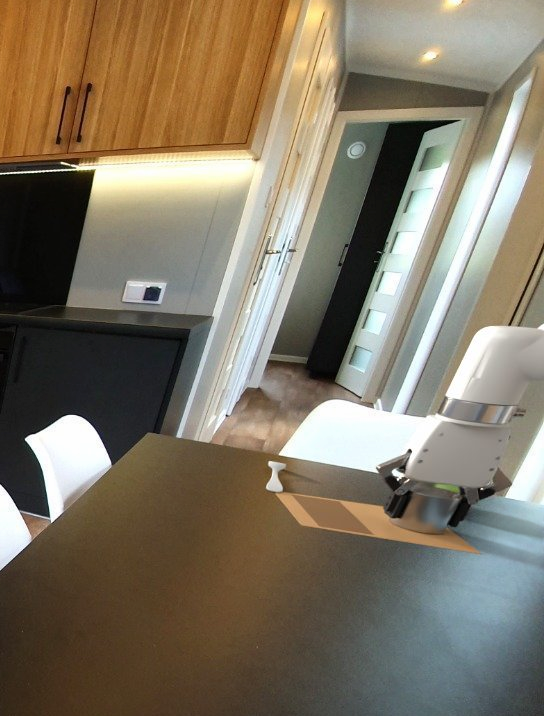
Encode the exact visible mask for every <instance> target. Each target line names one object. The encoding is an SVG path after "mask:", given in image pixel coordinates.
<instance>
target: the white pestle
mask: <svg viewBox="0 0 544 716" xmlns="http://www.w3.org/2000/svg"><path fill="white" fill-rule="evenodd" d="M267 466H268V467H270V468H271V470H272V472H271V478H270V479H269V481H268V482H267V484H266V487H265V489H266V490H267V491H269V492H271V493H275V492H276V493H279V492H284V491H283V490H284V487H283V485H282V483H281V481H280V479H279V472H280V471H282V470H285V469H286V467H287V463H283V462H277V461H271V460H269V461H268V464H267Z"/></svg>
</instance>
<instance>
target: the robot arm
mask: <svg viewBox="0 0 544 716" xmlns="http://www.w3.org/2000/svg"><path fill="white" fill-rule="evenodd" d="M532 381H534V382H535V381H536V382H542V383H544V323H543V324H541V325H540V326H539V327H537V328H535V327H526V326H515V325H514V326H513V325H491V326H490V325H489V326H485V327H483V328H481V329H479V330H478V331H477V332H476V333H475V334H474V336H473V338H472V339H471V341H470V344H469V346H468V348H467V350H466V351H465V353H464V356H463V358H462V359H461V362H460V365H459V366H458V368H457V370H456V372H455V374H454V377H453V379H452V381H451V383H450V385H449V387H448V389H447V391H446V393H445V395H444V397H443V399H442V401H441V404H440V405H439V408H438V409H437V411H436V413H435V414H428V415H427V416H426V417H425V418H424V419H423V420H422V422H421V423H420V424H419V426H418V427H417V428H416V430H415V431H414V433H413V434H412V436H410V438H409V440H408V442H407V443H406V445H405V447H404V448H403V450H402V452H401V454H400V455H399V456H397V457H393V458H391V459H389V460H387V461H386V460H385V461H384V462H381V463H379V464H377V465H376V466H375V470H376V471H377V473H378V474H379V476H380V477H381V478H382V481H383V482H384V483H385V485H386V486H387V487H388V489H389V490H390V492H389V493H388V497H387V498H386V500H385V502H384V504H383V509H384V510H385V511H384V513H385V514H387V515H388V516H389V517H390V518H394V519H395V518H398V516H399V514H400V512H401V510H402V508H403V506H404V504H405V502H406V500H407V496H405V493H406V492H407V491H408V490H410V489H411V488H412V487H413V486H415V485H416V484H417V483H419V482H427V483H435V484H443V485H451V486H458V491H459V495H461V496H462V497H463V498H462V500H461V502H460V504H459V505H458V507H457V509H456V511H455V513H454V515H453V517H452V519H451V520H450V522H449V524H448V526H449V527H451V528H457V527H458V526H459V524H460V523H461V522H463V521H464V519H465V518H466V516H467V514H468V513H469V511H470V509H471V507H472V506H474V505H477V504H478V503H479V502H481V501H482V500H485V499H487V498H490V497H492V496H494V495H495V494H496V493H500V492H502V491H504V490H506V489H508V488H511V487H512V486H513V482H512V481H511V480H510V479H509V477H508V476H507V475H506V474H505V473H504V472H503V471H502V469H501V468H500V467H499V466H500V464H501V462H502V460H503V457H504V455H505V452H506V450H507V446H508V443H509V440H510V438H509V435H510V436H511V430H512V426H511V425H510V424H508V423H511V421H512V420H513V418H523V417H525V415H526V413H527V409H526V408H524V407H523V408H522V407H519V406H520V405H519V402H520V401H521V399H522V397H523V395H524V393H525V391H526V389H527V388H528V386H529V384H530V382H532ZM508 439H509V440H508ZM394 470H395V471H396V472H398V473H400V474H401V473H403V475H401V476H400V475H399V476H400V477H399V476H398V477H397V478H396V477H395V475H394V474H393V471H394Z"/></svg>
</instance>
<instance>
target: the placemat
mask: <svg viewBox="0 0 544 716" xmlns="http://www.w3.org/2000/svg"><path fill="white" fill-rule="evenodd" d="M274 494H275V495H276V496H277V498H278V499H279V500H280V501H281V502H282V503H283V505H284V506H285V507H286V508H287V510H289V512H290V514H291V515H292V516H293V517H294V519H296V521H297V522H298V523H299V524H300V526H302V527H308V528H314V529H320V530H326V531H333V532H339V533H345V534H351V535H359V536H364V537H370V538H377V539H384V540H390V541H396V542H401V543H406V544H407V543H409V544H414V545H421V546H425V547H426V546H427V547H434V548H439V549H446V550H450V551H451V550H452V551H458V552H464V553H470V554H477V555H483V553H482V552H481V551H479V550H478V549H476V548H475V547H474V546H473V545H471V544H469V543H468V542H467V541H465V539H464V538H462V537H461V536H459V535H458V534H457V533H455V532H454V531H453V530H451V529H450V528H448V527H447V528H446V530H445V532H444V533H442V534H429V533H422V532H417V531H412V530H408V529H405V528H402V527H399V526H397V525H394V524H393V523H391V522H390V521H389V518H390V517H389V516H388V515H387V514H385V513H384V511H385V510H384V509H383V507H384V505H376V504H369V503H362V502H354V501H349V500H348V501H347V500H343V499H342V500H341V499H333V498H327V497H320V496H313V495H307V494H300V493H292V492H287V491H282V492H279V493H276V492H274Z"/></svg>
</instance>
